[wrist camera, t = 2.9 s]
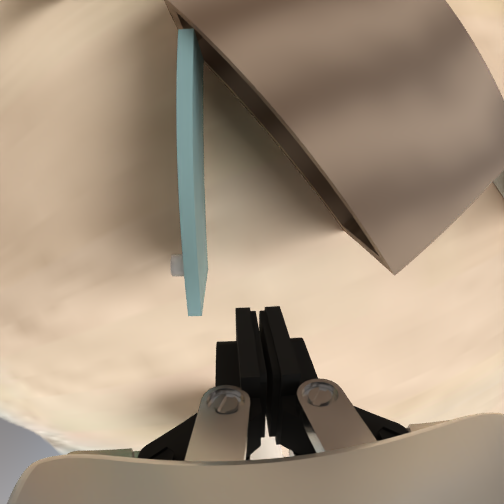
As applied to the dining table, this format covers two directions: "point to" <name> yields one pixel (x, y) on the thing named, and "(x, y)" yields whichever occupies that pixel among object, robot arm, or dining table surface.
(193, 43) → the door
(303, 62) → the bread box
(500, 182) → the condiment
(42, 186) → the dining table surface
